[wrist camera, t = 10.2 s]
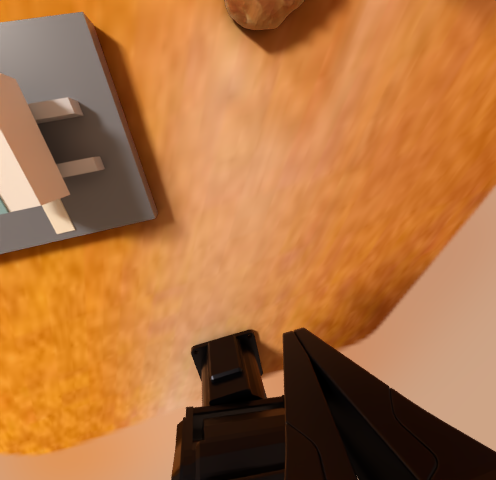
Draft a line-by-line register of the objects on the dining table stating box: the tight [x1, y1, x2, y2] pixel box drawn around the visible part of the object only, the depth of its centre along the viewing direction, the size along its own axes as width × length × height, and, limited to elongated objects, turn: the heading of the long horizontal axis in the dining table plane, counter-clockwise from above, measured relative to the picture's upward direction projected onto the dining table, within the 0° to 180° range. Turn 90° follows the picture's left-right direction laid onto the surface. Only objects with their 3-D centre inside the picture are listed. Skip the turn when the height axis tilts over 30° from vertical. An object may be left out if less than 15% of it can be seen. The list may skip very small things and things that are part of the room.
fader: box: [0, 73, 70, 214], centre depth 13 cm, size 6×4×5 cm, turn 11°
